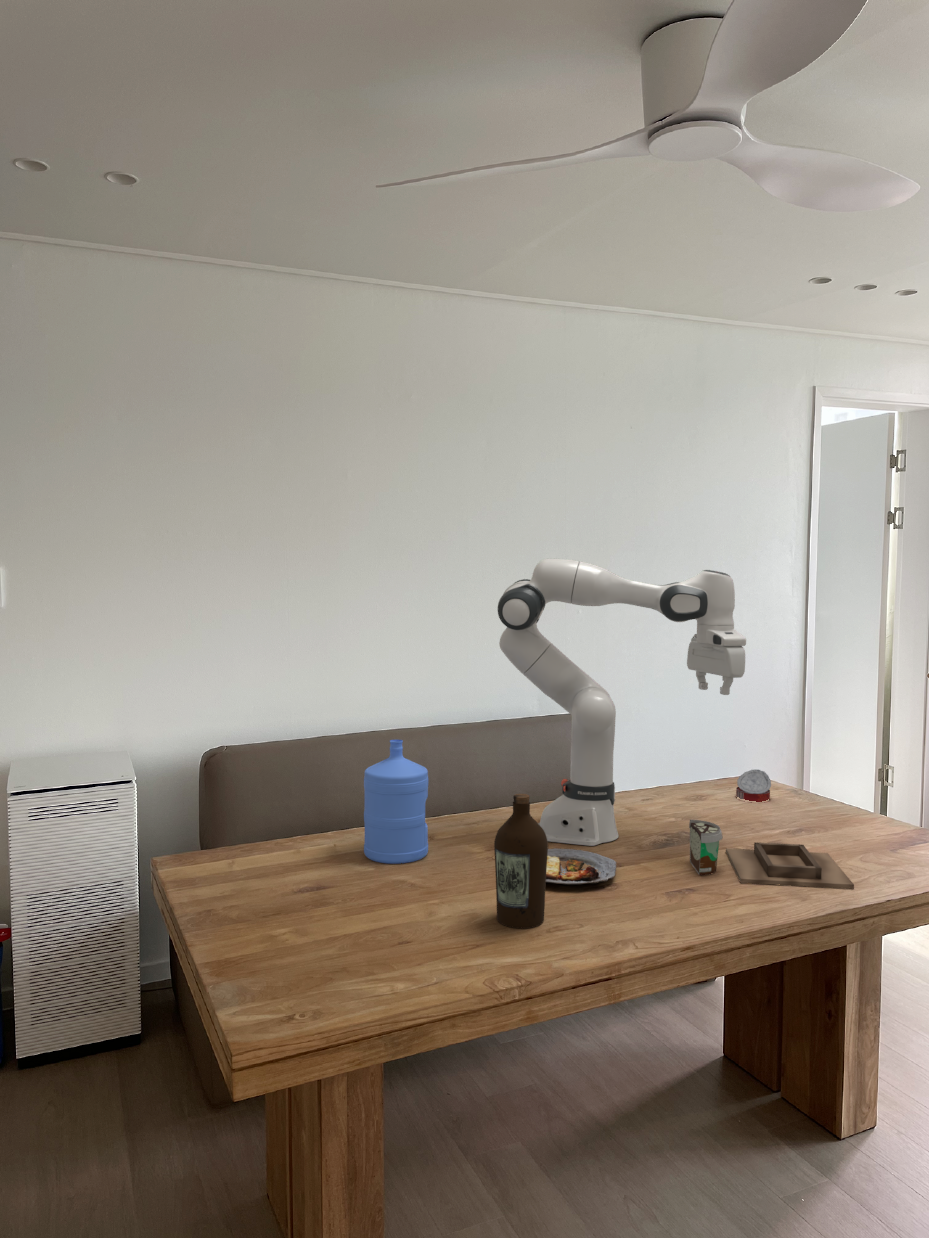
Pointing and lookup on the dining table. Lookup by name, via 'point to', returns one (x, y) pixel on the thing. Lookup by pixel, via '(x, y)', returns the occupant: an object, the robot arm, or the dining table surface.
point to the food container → (704, 846)
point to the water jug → (395, 809)
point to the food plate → (578, 867)
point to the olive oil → (520, 868)
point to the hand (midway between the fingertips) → (713, 692)
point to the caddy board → (787, 866)
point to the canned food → (754, 786)
